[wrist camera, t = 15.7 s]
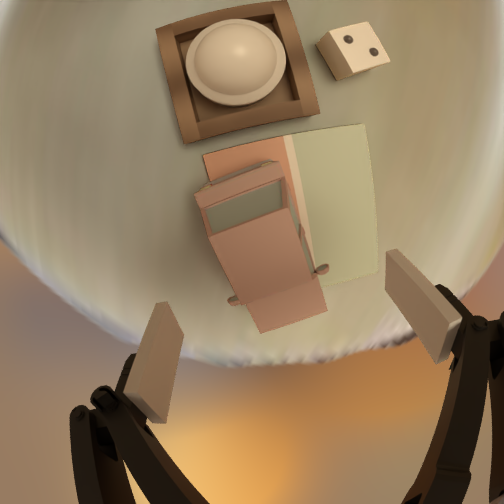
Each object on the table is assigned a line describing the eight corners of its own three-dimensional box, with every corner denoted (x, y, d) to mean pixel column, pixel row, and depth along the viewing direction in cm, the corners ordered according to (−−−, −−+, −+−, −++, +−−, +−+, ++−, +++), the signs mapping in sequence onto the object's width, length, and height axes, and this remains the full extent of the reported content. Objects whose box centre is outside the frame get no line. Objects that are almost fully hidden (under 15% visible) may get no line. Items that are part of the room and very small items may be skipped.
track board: (204, 154, 25) (202, 155, 24) (360, 123, 24) (364, 123, 23) (246, 300, 32) (246, 305, 31) (374, 268, 31) (378, 272, 30)
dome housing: (163, 38, 19) (155, 29, 17) (282, 11, 19) (286, -1, 16) (190, 143, 24) (184, 144, 22) (311, 115, 23) (320, 113, 21)
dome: (185, 44, 19) (168, 20, 13) (268, 26, 19) (276, -4, 13) (203, 117, 22) (191, 111, 16) (288, 98, 22) (304, 87, 16)
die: (315, 44, 20) (330, 29, 16) (350, 34, 20) (369, 20, 15) (336, 80, 22) (355, 72, 18) (370, 69, 21) (393, 60, 17)
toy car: (248, 310, 31) (252, 376, 22) (190, 187, 25) (162, 218, 16) (325, 282, 30) (355, 342, 21) (283, 150, 24) (308, 161, 15)
